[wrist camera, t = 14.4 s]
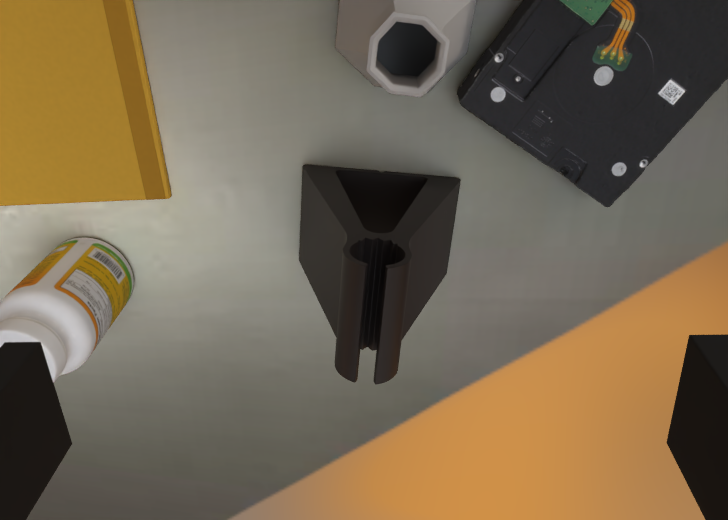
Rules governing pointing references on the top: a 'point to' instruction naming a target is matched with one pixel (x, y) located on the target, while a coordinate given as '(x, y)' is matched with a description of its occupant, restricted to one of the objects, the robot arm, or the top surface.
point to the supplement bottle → (68, 302)
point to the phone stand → (374, 255)
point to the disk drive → (600, 82)
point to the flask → (404, 40)
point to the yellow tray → (76, 105)
